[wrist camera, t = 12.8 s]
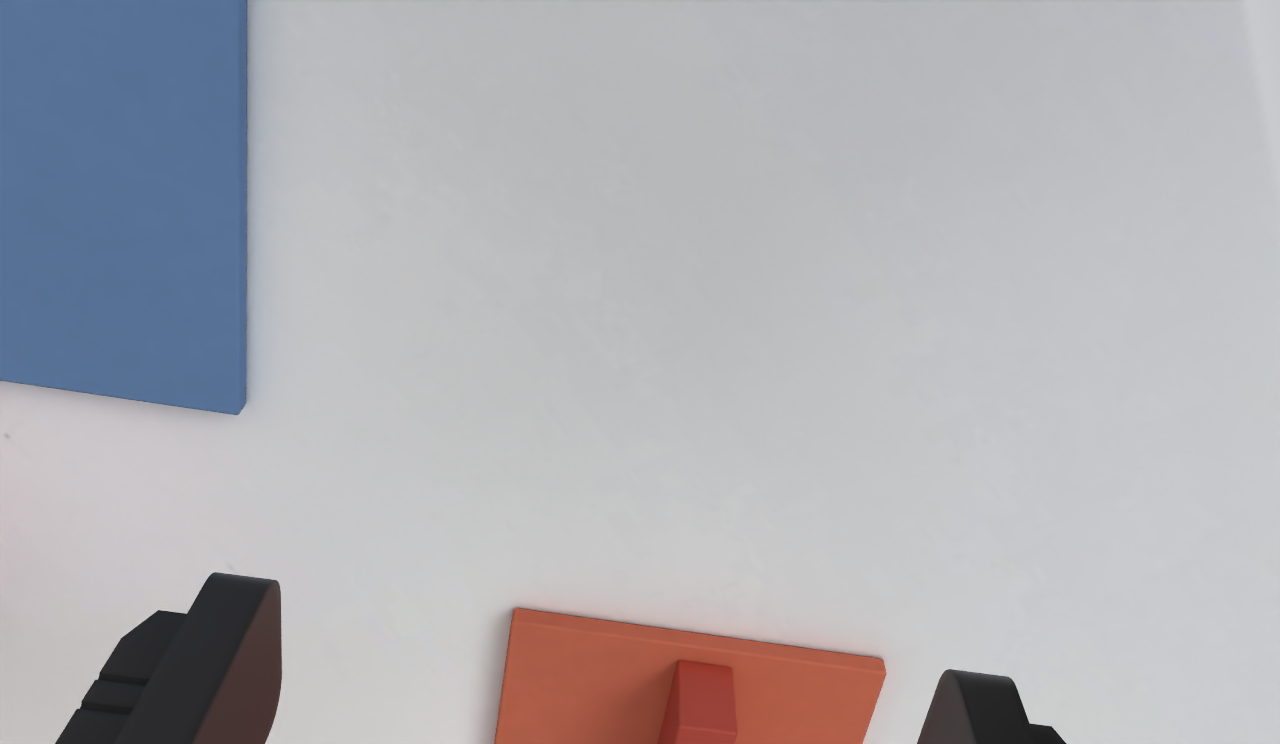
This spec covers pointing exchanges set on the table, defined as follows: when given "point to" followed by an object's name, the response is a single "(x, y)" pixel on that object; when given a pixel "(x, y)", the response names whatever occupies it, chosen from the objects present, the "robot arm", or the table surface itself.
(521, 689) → the red mat
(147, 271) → the blue mat
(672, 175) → the table surface
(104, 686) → the robot arm
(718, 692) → the red wooden stick
